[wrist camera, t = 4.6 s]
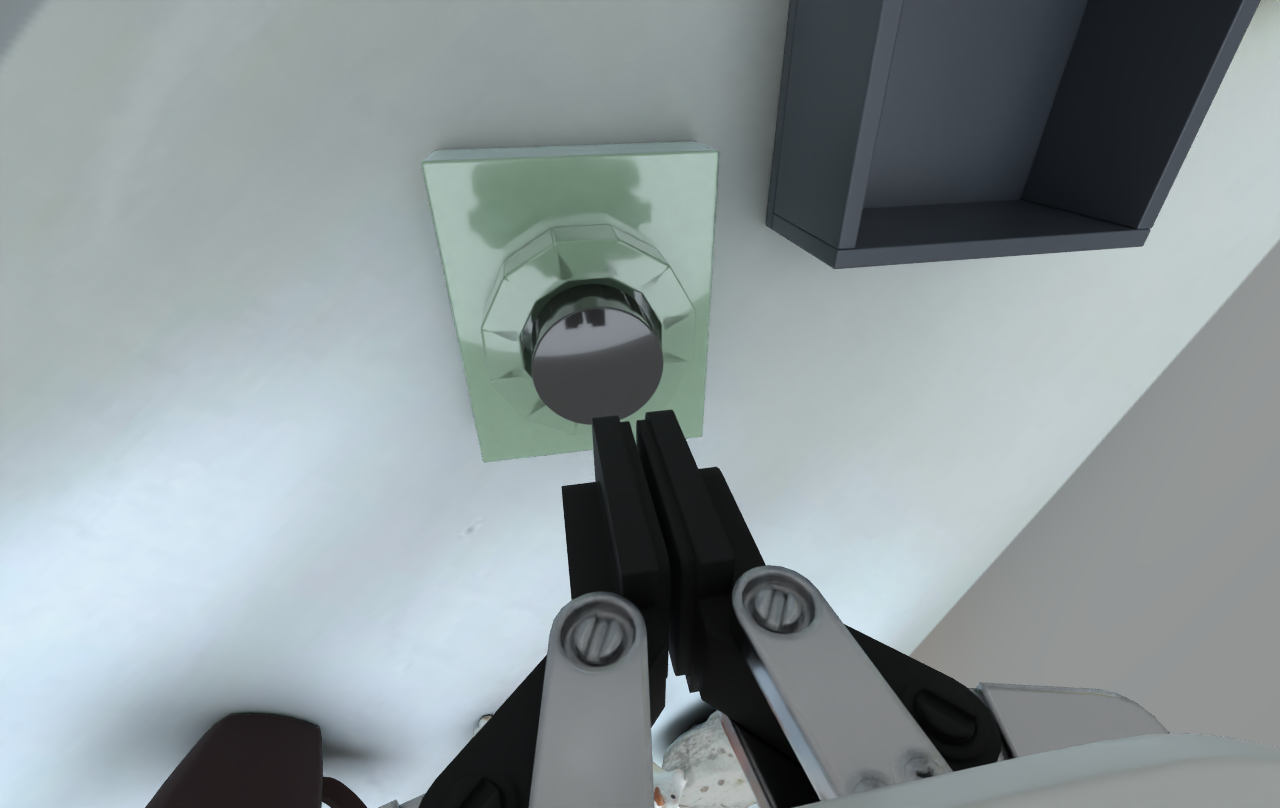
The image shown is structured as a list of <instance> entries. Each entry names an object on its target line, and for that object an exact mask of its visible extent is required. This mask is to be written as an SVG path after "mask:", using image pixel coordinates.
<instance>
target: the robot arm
mask: <svg viewBox="0 0 1280 808" xmlns="http://www.w3.org/2000/svg"><path fill="white" fill-rule="evenodd" d="M592 436H593V451H594V465H595V480H596V482H591V483H583V484H575V485H567V486H562V498H563V509H564V520H565V531H566V542H567V553H568V564H569V576H570V587H571V598H572V600H571V601H570V602H569V603H568V604H567V605H565V606H564V607H563V608H562V609H561V610H560V612H559V613H558V615H557V616H556V617H555V619H554V621H553V624H552V628H551V631H550V636H549V644H548V652H547V655H546V656H545V657H544V659H543V660H542V661H541V662H540V663H539V664H538V665H537V666H536V668H535V669H534V670H533V671H532V672H531V673H530V674H529V675H528V676H527V678H526V679H525V680H524V681H523V682H522V683H521V684H520V685H519V687H518V688H517V689H516V690H515V691H514V692H513V693H512V694H511V696H510V697H509V698H508V699H507V700H506V701H505V702H504V703H503V705H502V706H501V707H500V708H499V709H498V710H497V711H496V712H495V713H494V715H493V716H492V717H491V718H490V719H489V720H488V721H487V722H486V724H485V725H484V726H483V727H482V728H481V729H480V730H479V731H478V733H477V734H476V735H475V736H474V737H473V738H472V739H471V740H470V742H469V743H468V744H467V745H466V746H465V747H464V748H463V749H462V750H461V752H460V753H459V754H458V755H457V756H456V757H455V758H454V759H453V761H452V762H451V763H450V764H449V765H448V766H447V767H446V768H445V770H444V771H443V772H442V773H441V774H440V775H439V776H438V777H437V779H436V780H435V781H434V782H433V784H432V785H431V787H430V788H429V789H428V791H427V792H426V793H425V794H423V795H421V796H419V797H416V798H414V799H412V800H410V801H408V802H405V803H403V804H401V805H399V804H398V802H397V800H394V801H392V802H390V803H388V804H385V805H383V806H381V807H379V808H655V806H654V784H653V762H652V740H651V727H652V726H653V724H654V723H655V721H656V720H657V718H658V717H659V715H660V713H661V712H662V710H663V709H664V707H665V691H666V678H667V676H668V650H669V654H670V658H671V662H672V666H673V670H674V673H675V675H676V676H681V675H685V676H686V680H687V683H688V687H689V691H690V693H692V692H698V691H699V692H700V696H701V699H702V700H703V701H705V702H706V703H708V704H709V705H711V706H712V707H714V708H716V709H717V710H718V714H719V718H720V721H721V725H722V727H723V729H724V731H725V733H726V736H727V738H728V740H729V742H730V745H731V747H732V749H733V751H734V753H735V756H736V758H737V760H738V762H739V765H740V767H741V769H742V771H743V773H744V776H745V778H746V780H747V782H748V785H749V787H750V789H751V791H752V793H753V796H754V798H755V800H756V802H757V805H758V807H759V808H1280V748H1278V747H1273V746H1269V745H1265V744H1260V743H1256V742H1251V741H1247V740H1242V739H1235V738H1229V737H1222V736H1215V735H1205V734H1190V733H1177V734H1170V733H1169V732H1168V731H1167V730H1166V729H1165V727H1164V726H1163V725H1162V724H1161V723H1160V722H1159V721H1158V720H1157V719H1156V718H1155V716H1153V715H1152V714H1151V713H1149V712H1148V711H1147V710H1145V709H1144V708H1143V707H1141V706H1140V705H1138V704H1137V703H1136V702H1134V701H1132V700H1129V699H1128V698H1126V697H1123V696H1121V695H1119V694H1117V693H1114V692H1109V691H1105V690H1100V689H1087V688H1068V687H1051V686H1050V687H1049V686H1032V685H1015V684H997V683H979V684H978V686H977V688H976V689H975V688H967V687H966V686H964V685H962V684H961V683H959V682H958V681H956V680H954V679H953V678H951V677H949V676H947V675H945V674H943V673H941V672H939V671H937V670H935V669H933V668H931V667H929V666H927V665H925V664H923V663H921V662H919V661H917V660H915V659H913V658H911V657H909V656H907V655H905V654H903V653H901V652H899V651H897V650H895V649H893V648H891V647H889V646H887V645H885V644H883V643H881V642H879V641H877V640H875V639H873V638H871V637H869V636H867V635H865V634H863V633H861V632H859V631H857V630H855V629H853V628H851V627H849V626H847V625H845V624H843V623H842V621H841V620H840V619H839V617H838V616H837V615H836V613H835V612H834V611H833V609H832V608H831V606H830V605H829V604H828V602H827V601H826V600H825V598H824V597H823V596H822V594H821V593H820V592H819V590H818V589H817V588H816V587H815V586H814V585H813V584H812V583H811V582H810V581H809V580H808V579H807V578H805V577H804V576H802V575H800V574H799V573H797V572H796V571H793V570H790V569H787V568H784V567H780V566H770V565H767V566H766V565H765V563H764V561H763V558H762V556H761V554H760V552H759V550H758V548H757V546H756V544H755V542H754V539H753V537H752V535H751V533H750V531H749V529H748V527H747V525H746V523H745V521H744V518H743V516H742V514H741V512H740V510H739V508H738V506H737V504H736V502H735V499H734V497H733V495H732V493H731V491H730V489H729V487H728V485H727V483H726V481H725V478H724V476H723V474H722V473H721V471H720V469H719V468H717V467H711V468H703V469H698V467H697V465H696V463H695V460H694V458H693V456H692V453H691V451H690V448H689V446H688V444H687V441H686V439H685V437H684V434H683V432H682V430H681V427H680V425H679V422H678V420H677V418H676V415H675V413H674V411H673V410H672V409H671V410H662V411H653V412H646V414H645V419H643V420H637V421H636V442H635V439H634V435H633V432H632V428H631V425H630V422H629V421H625V422H620V419H619V416H618V415H616V416H606V417H597V418H592Z"/></svg>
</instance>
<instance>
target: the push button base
mask: <svg viewBox="0 0 1280 808" xmlns="http://www.w3.org/2000/svg"><path fill="white" fill-rule="evenodd" d="M421 167H422V171H423V176H424V181H425V186H426V191H427V195H428V200H429V205H430V210H431V215H432V219H433V224H434V229H435V234H436V239H437V243H438V248H439V253H440V258H441V263H442V267H443V272H444V277H445V282H446V287H447V292H448V296H449V301H450V306H451V311H452V316H453V320H454V325H455V330H456V335H457V340H458V344H459V349H460V354H461V359H462V364H463V368H464V373H465V378H466V383H467V388H468V392H469V397H470V402H471V407H472V412H473V416H474V421H475V426H476V431H477V436H478V440H479V445H480V450H481V455H482V460H483V462H485V463H486V462H494V461H502V460H511V459H519V458H528V457H536V456H545V455H553V454H562V453H570V452H578V451H587V450H593V436H592V425H586V424H580V423H576V422H572V421H569V420H567V419H565V418H563V417H561V416H559V415H557V414H556V413H555V412H553V411H552V410H551V409H549V408H548V407H547V406H546V405H545V404H544V402H543V401H542V400H541V398H540V397H539V395H538V393H537V391H536V389H535V386H534V384H533V379H532V370H531V332H532V328H533V325H534V322H535V319H536V317H537V316H538V314H539V312H540V311H541V309H542V308H543V307H544V306H545V305H546V304H547V303H548V302H549V301H550V300H551V299H552V298H553V297H555V296H556V295H557V294H559V293H561V292H563V291H565V290H567V289H569V288H572V287H576V286H579V285H586V284H600V285H607V286H611V287H614V288H617V289H619V290H621V291H623V292H625V293H627V294H628V295H629V296H631V297H632V298H633V299H634V300H635V301H636V302H637V303H638V304H639V305H640V306H641V308H642V309H643V310H644V312H645V314H646V316H647V318H648V320H649V322H650V324H651V326H652V328H653V330H654V332H655V334H656V336H657V338H658V340H659V342H660V345H661V348H662V352H663V360H664V365H663V373H662V377H661V380H660V383H659V386H658V388H657V389H656V391H655V393H654V394H653V396H652V397H651V399H650V400H649V401H648V402H647V403H646V404H645V405H644V406H643V407H642V408H641V409H639V410H638V411H637V412H635V413H634V414H632V415H630V416H628V417H627V418H624V419H622V420H620V422H625V421H629V422H630V425H631V428H632V432H633V435H634V439H635V442H636V421H637V420H643V419H645V414H646V412H653V411H662V410H671V409H672V410H673V411H674V413H675V415H676V418H677V420H678V422H679V425H680V427H681V430H682V432H683V434H684V437H685V439H688V438H697V437H702V433H703V416H704V400H705V383H706V366H707V350H708V333H709V317H710V300H711V283H712V267H713V250H714V233H715V217H716V200H717V183H718V167H719V151H718V150H715V149H713V148H711V147H708V146H706V145H703V144H701V143H698V142H696V141H685V142H656V143H627V144H598V145H569V146H540V147H511V148H482V149H453V150H435V151H433V152H432V153H431V154H430V155H429V156H428V157H427V158H425V159H424V160H423V161H422V162H421Z"/></svg>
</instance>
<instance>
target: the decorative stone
mask: <svg viewBox="0 0 1280 808" xmlns="http://www.w3.org/2000/svg"><path fill="white" fill-rule="evenodd" d="M662 769H664V770H665V771H668V772H670V771H673V770H675V769H680V770H682V771H683V772H684V774H685V778H686V779H687V783H686V784H685V786H684V788H683V791H682V794H681V797H680V800H679V806H678V807H679V808H748V807H750V806H751V805H753V804H757V802H756V800H755V798H754V796H753V793H752V791H751V789H750V787H749V785H748V782H747V780H746V778H745V776H744V773H743V771H742V769H741V767H740V765H739V762H738V760H737V758H736V756H735V753H734V751H733V749H732V747H731V745H730V742H729V740H728V738H727V736H726V733H725V731H724V729H723V727H722V725H721V721H720V718H719V714H718V710H716V711H715V712H714V713H712V714H711V715H710V716H709V718H708V720H707V721H706V722H704V723H700V724H694V725H693V726H692V727H690V729H689V731H687V732H685V733H683V734H681V735H680V736H679V737H678V738H677V739H676V740H675V741H674V742H673V743H672V744H671V745H670V746H668V748H667V749H666V751H665V754H664V758H663V765H662Z"/></svg>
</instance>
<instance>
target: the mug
mask: <svg viewBox="0 0 1280 808" xmlns="http://www.w3.org/2000/svg"><path fill="white" fill-rule="evenodd" d="M322 802H324V803H325V804H327V805H328V806H330V807H331V808H367V807H366V805H365V804H364V803H363V802H362V801H361V800H360V799H359V797H358V796H357V795H356V794H355V793H354V792H352V791H351V790H350V789H349V788H348V787H347V786H345V785H344V784H343V783H341V782H340V781H338V780H336V779H333V778H331V777H323V761H322V738H321V731H320V728H319V727H317V726H315V725H312V724H309V723H307V722H304V721H300V720H297V719H293V718H288V717H283V716H276V715H267V714H231V715H229V716H227V717H225V718H224V719H222V720H221V721H219V722H218V723H216V724H215V725H214V726H213V727H212V728H211V729H209V730H208V731H207V732H206V733H205V734H204V735H203V737H202V738H201V739H200V740H199V741H198V742H197V744H196V745H195V746H194V747H193V748H192V750H191V751H190V752H189V753H188V754H187V755H186V757H185V758H184V759H183V760H182V761H181V763H180V764H179V765H178V766H177V767H176V769H175V770H174V771H173V772H172V774H171V775H170V776H169V777H168V779H167V780H166V781H165V782H164V784H163V785H162V786H161V788H160V789H159V790H158V791H157V793H156V794H155V795H154V797H153V798H152V799H151V801H150V802H149V803H148V805H147V806H146V807H145V808H321V805H322Z"/></svg>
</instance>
